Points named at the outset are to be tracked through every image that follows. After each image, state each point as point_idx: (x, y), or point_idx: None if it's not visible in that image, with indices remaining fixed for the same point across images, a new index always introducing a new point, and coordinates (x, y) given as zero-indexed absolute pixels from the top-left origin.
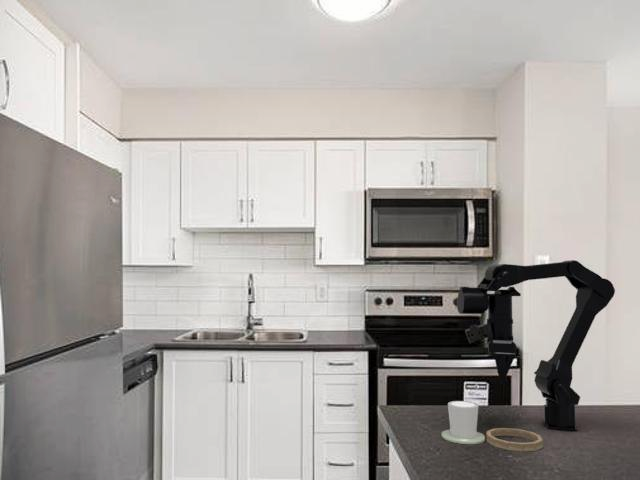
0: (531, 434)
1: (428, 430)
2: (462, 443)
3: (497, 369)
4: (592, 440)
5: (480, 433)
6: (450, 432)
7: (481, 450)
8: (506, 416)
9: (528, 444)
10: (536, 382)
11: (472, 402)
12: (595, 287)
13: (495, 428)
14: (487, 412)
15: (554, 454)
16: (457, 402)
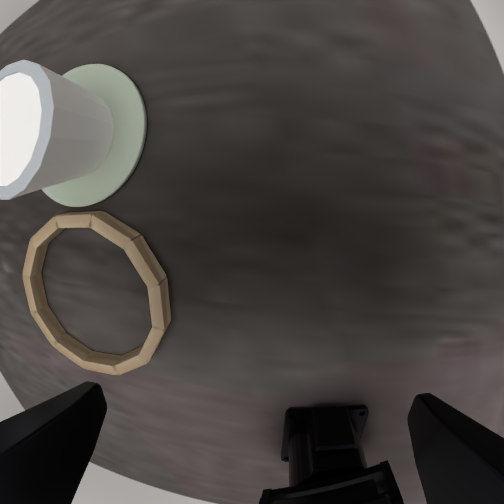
0: (133, 355)
1: (135, 16)
2: None
3: (11, 418)
4: (210, 464)
5: (109, 190)
6: (93, 89)
7: (9, 200)
8: (426, 297)
9: (39, 324)
10: (366, 501)
11: (36, 165)
12: None
13: (137, 248)
14: (467, 229)
15: (60, 367)
16: (27, 95)
